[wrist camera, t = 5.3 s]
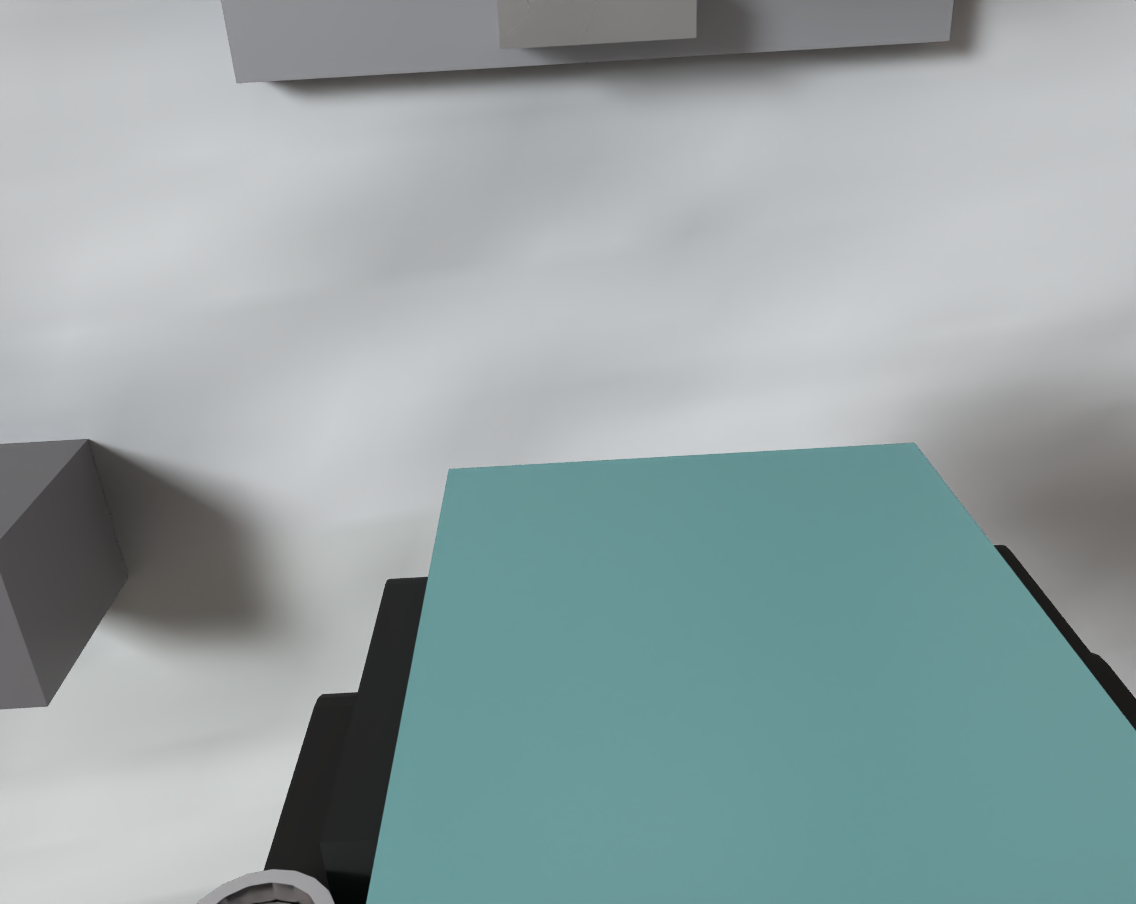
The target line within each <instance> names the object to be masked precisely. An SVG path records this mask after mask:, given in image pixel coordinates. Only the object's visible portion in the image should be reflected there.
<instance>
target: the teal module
mask: <svg viewBox="0 0 1136 904" xmlns="http://www.w3.org/2000/svg"><path fill="white" fill-rule="evenodd" d="M366 904H1136V730H1135V729H1134V728H1133V727H1132V725H1131V724H1130V723H1129V721H1128V720H1127V719H1126V717H1125V716H1124V715H1123V714H1122V712H1121V711H1120V710H1119V708H1118V707H1117V706H1116V704H1115V703H1114V702H1113V701H1112V699H1111V698H1110V697H1109V695H1108V694H1107V693H1106V691H1105V690H1104V689H1103V687H1102V686H1101V685H1100V684H1099V682H1098V681H1097V680H1096V678H1095V677H1094V676H1093V674H1092V673H1091V672H1090V671H1089V669H1088V668H1087V667H1086V665H1085V664H1084V663H1083V661H1082V660H1081V659H1080V658H1079V656H1078V655H1077V654H1076V652H1075V651H1074V650H1073V648H1072V647H1071V646H1070V645H1069V643H1068V642H1067V641H1066V639H1065V638H1064V637H1063V635H1062V634H1061V633H1060V631H1059V630H1058V629H1057V628H1056V626H1055V625H1054V624H1053V622H1052V621H1051V620H1050V618H1049V617H1048V616H1047V615H1046V613H1045V612H1044V611H1043V609H1042V608H1041V607H1040V605H1039V604H1038V603H1037V602H1036V600H1035V599H1034V598H1033V596H1032V595H1031V594H1030V592H1029V591H1028V590H1027V589H1026V587H1025V586H1024V585H1023V583H1022V582H1021V581H1020V579H1019V578H1018V577H1017V575H1016V574H1015V573H1014V572H1013V570H1012V569H1011V568H1010V566H1009V565H1008V564H1007V562H1006V561H1005V560H1004V559H1003V557H1002V556H1001V555H1000V553H999V552H998V551H997V549H996V548H995V547H994V546H993V544H992V543H991V542H990V540H989V539H988V538H987V536H986V535H985V534H984V533H983V531H982V530H981V529H980V527H979V526H978V525H977V523H976V522H975V521H974V519H973V518H972V517H971V516H970V514H969V513H968V512H967V510H966V509H965V508H964V506H963V505H962V504H961V503H960V501H959V500H958V499H957V497H956V496H955V495H954V493H953V492H952V491H951V490H950V488H949V487H948V486H947V484H946V483H945V482H944V480H943V479H942V478H941V477H940V475H939V474H938V473H937V471H936V470H935V469H934V467H933V466H932V465H931V463H930V462H929V461H928V460H927V458H926V457H925V456H924V454H923V453H922V452H921V450H920V449H919V448H918V447H917V445H916V444H915V443H901V444H884V445H866V446H848V447H831V448H813V449H795V450H778V451H760V452H742V453H725V454H707V455H689V456H671V457H654V458H636V459H618V460H601V461H583V462H565V463H548V464H530V465H512V466H495V467H477V468H459V469H449V471H448V476H447V481H446V486H445V492H444V497H443V502H442V507H441V513H440V518H439V523H438V528H437V534H436V539H435V544H434V549H433V555H432V560H431V565H430V570H429V576H428V581H427V586H426V591H425V597H424V602H423V607H422V613H421V618H420V623H419V628H418V634H417V639H416V644H415V649H414V655H413V660H412V665H411V670H410V676H409V681H408V686H407V691H406V697H405V702H404V707H403V712H402V718H401V723H400V728H399V733H398V739H397V744H396V749H395V754H394V760H393V765H392V770H391V775H390V781H389V786H388V791H387V796H386V802H385V807H384V812H383V817H382V823H381V828H380V833H379V838H378V844H377V849H376V854H375V859H374V865H373V870H372V875H371V880H370V886H369V891H368V896H367V901H366Z"/></svg>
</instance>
